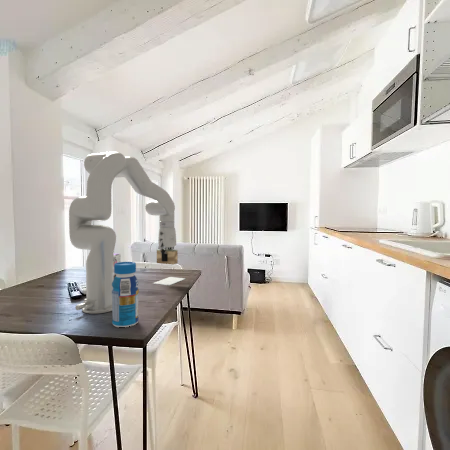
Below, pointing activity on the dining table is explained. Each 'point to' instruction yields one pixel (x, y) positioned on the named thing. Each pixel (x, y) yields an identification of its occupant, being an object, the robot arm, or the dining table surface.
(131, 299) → the beverage bottle
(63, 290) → the dining table surface
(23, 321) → the dining table surface
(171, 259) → the oak slab
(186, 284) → the dining table surface
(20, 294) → the dining table surface
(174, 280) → the white rectangular board
